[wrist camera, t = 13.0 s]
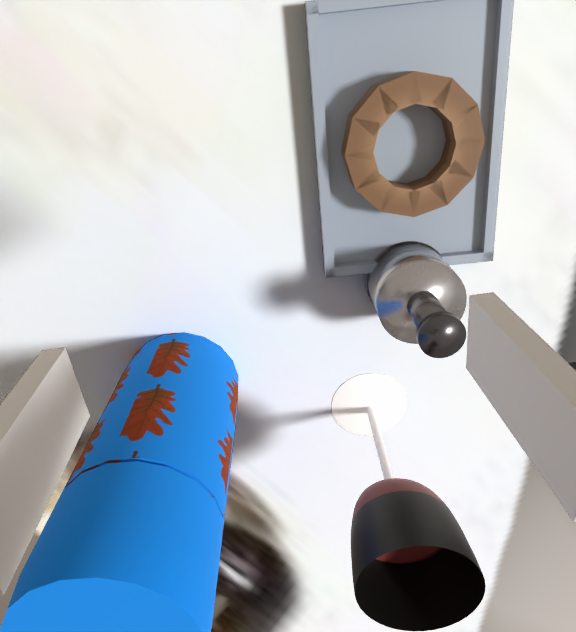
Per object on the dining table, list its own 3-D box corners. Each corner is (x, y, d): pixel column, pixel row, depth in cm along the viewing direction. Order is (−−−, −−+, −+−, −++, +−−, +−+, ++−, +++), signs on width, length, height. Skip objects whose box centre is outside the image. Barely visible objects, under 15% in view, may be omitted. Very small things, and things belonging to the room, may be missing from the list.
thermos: (107, 391, 49) (-37, 662, 27) (162, 309, 45) (48, 543, 23) (203, 442, 52) (147, 724, 30) (262, 368, 48) (249, 627, 26)
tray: (324, 270, 44) (325, 277, 43) (304, 3, 35) (306, 1, 34) (485, 254, 44) (492, 260, 42) (506, -20, 35) (515, -24, 34)
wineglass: (362, 354, 48) (414, 525, 30) (428, 400, 50) (512, 584, 32) (310, 410, 50) (328, 597, 32) (374, 450, 53) (425, 646, 35)
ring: (316, 153, 39) (319, 158, 37) (407, 42, 36) (415, 39, 34) (406, 231, 42) (413, 240, 40) (497, 134, 39) (511, 138, 36)
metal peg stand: (348, 282, 45) (369, 344, 34) (404, 221, 42) (445, 269, 32) (404, 326, 47) (440, 397, 36) (461, 271, 44) (515, 330, 34)
